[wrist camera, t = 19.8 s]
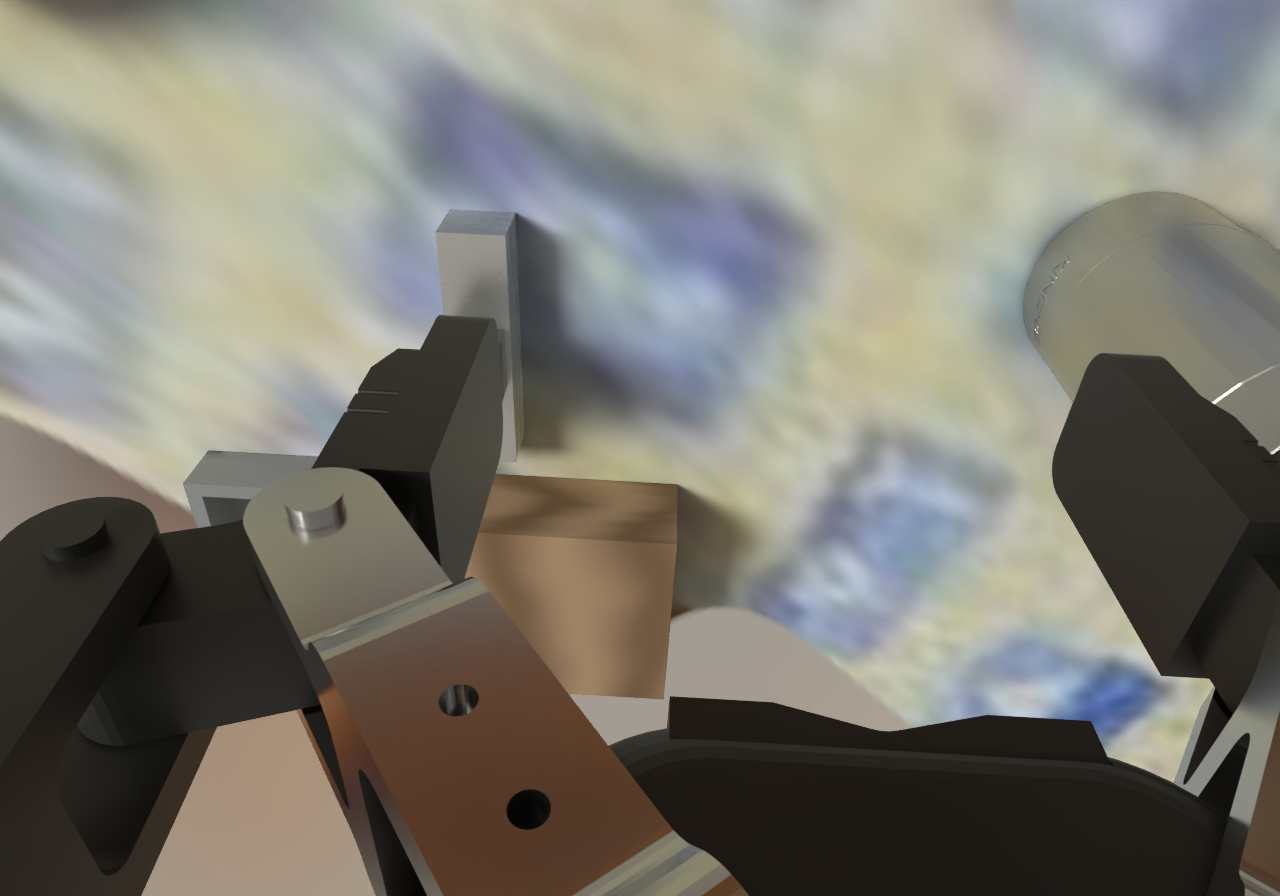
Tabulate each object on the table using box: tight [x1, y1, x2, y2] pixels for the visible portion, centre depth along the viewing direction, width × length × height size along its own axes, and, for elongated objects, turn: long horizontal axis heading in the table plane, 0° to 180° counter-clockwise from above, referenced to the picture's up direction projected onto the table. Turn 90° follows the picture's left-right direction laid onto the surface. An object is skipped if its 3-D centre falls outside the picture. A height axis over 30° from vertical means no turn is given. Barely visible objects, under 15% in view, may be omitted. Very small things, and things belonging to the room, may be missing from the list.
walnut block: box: [464, 474, 678, 699], centre depth 50 cm, size 16×12×5 cm
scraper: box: [436, 209, 525, 462], centre depth 40 cm, size 3×12×9 cm, turn 178°
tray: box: [183, 451, 318, 528], centre depth 50 cm, size 10×12×3 cm
